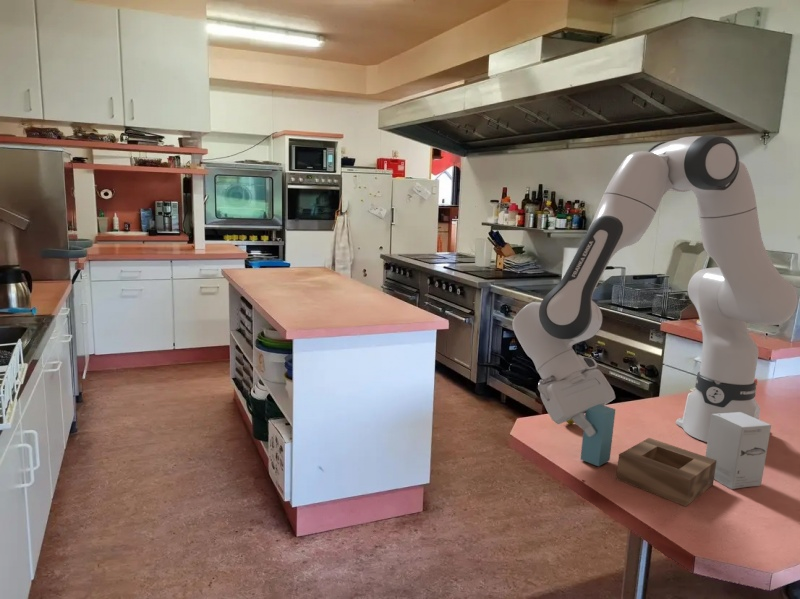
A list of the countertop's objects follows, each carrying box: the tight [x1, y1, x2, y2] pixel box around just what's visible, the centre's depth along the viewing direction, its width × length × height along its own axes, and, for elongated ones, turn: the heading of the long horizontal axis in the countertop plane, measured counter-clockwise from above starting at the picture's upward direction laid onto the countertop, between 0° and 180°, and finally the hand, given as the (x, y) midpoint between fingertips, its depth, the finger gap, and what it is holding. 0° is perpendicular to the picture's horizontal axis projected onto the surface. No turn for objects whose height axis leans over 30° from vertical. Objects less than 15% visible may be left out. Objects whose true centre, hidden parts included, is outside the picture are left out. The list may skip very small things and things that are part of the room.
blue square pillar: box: [580, 404, 616, 467], centre depth 117 cm, size 4×4×11 cm
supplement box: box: [704, 412, 772, 490], centre depth 112 cm, size 7×7×13 cm
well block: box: [615, 437, 717, 508], centre depth 110 cm, size 13×13×5 cm
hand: (601, 431), depth 116 cm, fingers closed on blue square pillar, 4 cm apart
